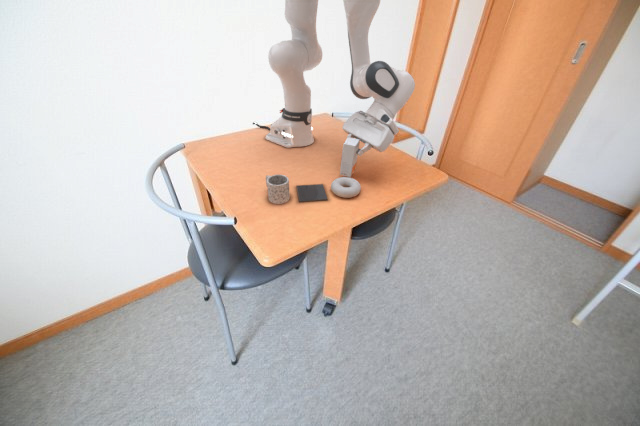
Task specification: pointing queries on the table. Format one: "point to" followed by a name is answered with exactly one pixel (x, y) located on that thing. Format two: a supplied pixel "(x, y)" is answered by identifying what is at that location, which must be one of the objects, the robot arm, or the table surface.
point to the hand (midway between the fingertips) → (351, 150)
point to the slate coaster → (311, 193)
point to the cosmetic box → (349, 157)
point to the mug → (278, 188)
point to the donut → (345, 187)
